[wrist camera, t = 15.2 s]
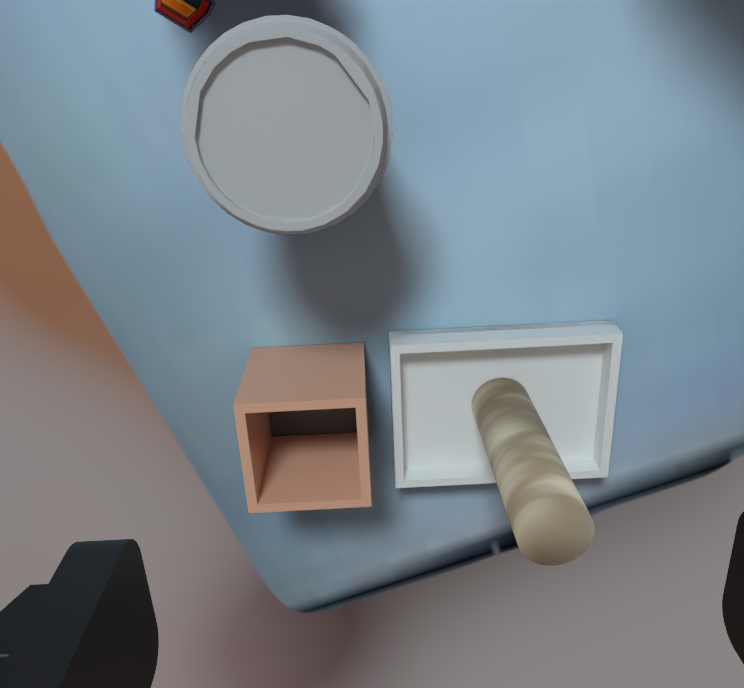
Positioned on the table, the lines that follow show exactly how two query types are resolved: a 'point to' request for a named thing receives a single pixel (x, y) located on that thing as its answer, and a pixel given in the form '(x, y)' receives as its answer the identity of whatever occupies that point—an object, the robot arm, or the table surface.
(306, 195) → the disposable coffee cup
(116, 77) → the table surface
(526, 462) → the maple peg
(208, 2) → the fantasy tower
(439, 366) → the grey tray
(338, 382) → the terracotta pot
